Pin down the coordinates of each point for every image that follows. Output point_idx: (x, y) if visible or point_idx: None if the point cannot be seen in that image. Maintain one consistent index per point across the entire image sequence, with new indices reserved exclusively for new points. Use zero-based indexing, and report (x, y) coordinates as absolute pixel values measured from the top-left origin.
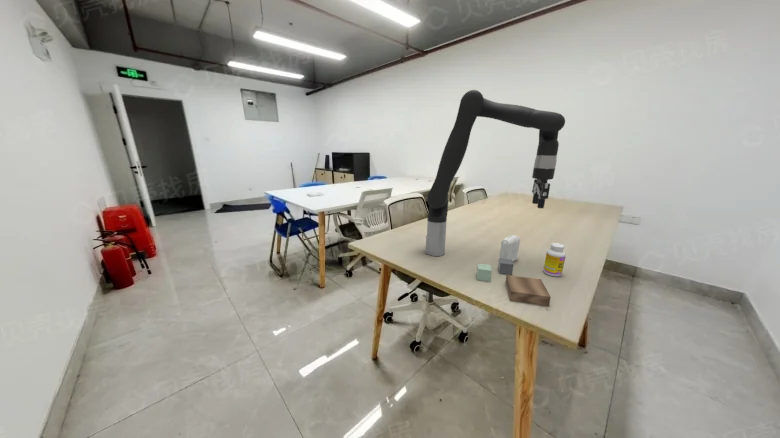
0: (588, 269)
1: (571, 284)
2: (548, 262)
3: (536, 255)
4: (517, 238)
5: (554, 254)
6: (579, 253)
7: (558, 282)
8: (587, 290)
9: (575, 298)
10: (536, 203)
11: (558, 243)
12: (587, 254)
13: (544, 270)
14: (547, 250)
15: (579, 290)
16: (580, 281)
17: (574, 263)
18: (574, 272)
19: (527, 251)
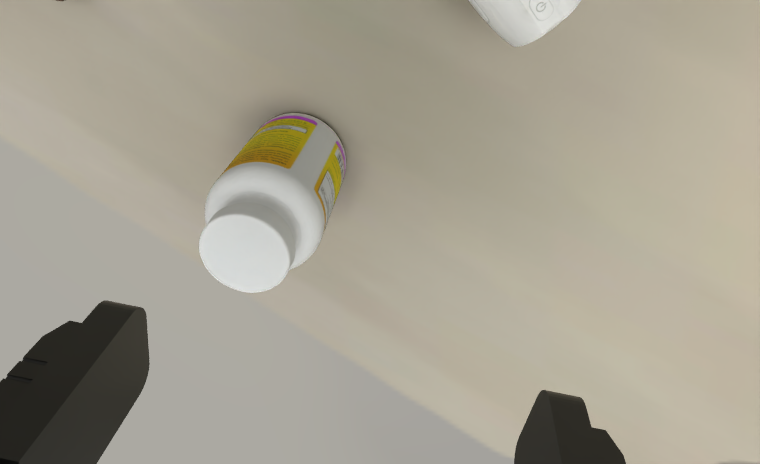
0: (374, 350)
1: (187, 188)
2: (253, 144)
3: (566, 186)
4: (484, 5)
5: (211, 190)
6: None
7: (191, 134)
8: (146, 226)
9: (46, 132)
10: (520, 439)
11: (280, 277)
12: None
13: (291, 115)
14: (276, 177)
15: (134, 192)
16: None
17: (443, 330)
18: (330, 273)
19: (646, 156)
